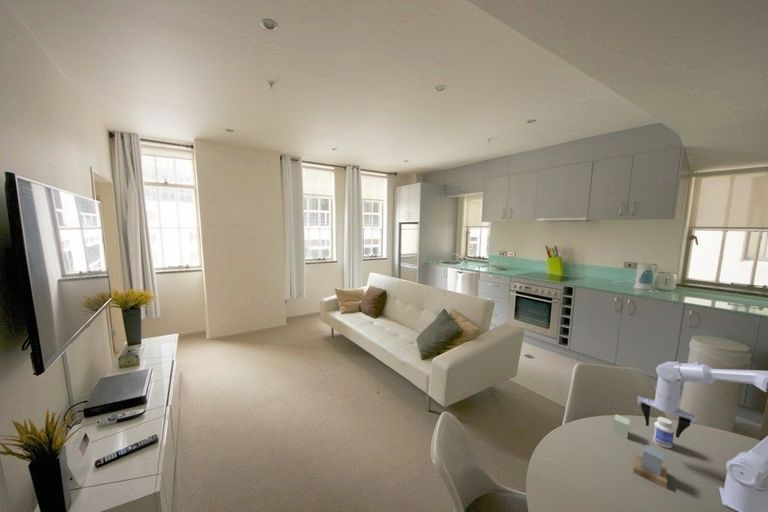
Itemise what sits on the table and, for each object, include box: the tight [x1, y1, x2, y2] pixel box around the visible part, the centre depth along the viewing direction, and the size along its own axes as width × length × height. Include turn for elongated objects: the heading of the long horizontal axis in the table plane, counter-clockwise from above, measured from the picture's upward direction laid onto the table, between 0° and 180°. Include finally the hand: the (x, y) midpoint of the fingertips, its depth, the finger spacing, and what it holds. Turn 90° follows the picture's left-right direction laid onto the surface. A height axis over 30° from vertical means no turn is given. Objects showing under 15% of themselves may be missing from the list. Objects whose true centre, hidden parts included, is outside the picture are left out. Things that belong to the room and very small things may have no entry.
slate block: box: [642, 444, 665, 476], centre depth 93 cm, size 4×4×6 cm
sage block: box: [612, 413, 631, 440], centre depth 112 cm, size 4×4×6 cm
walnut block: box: [632, 453, 668, 490], centre depth 94 cm, size 8×8×2 cm
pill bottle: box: [652, 416, 675, 449], centre depth 107 cm, size 5×5×10 cm
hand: (661, 430), depth 100 cm, fingers open, 7 cm apart
